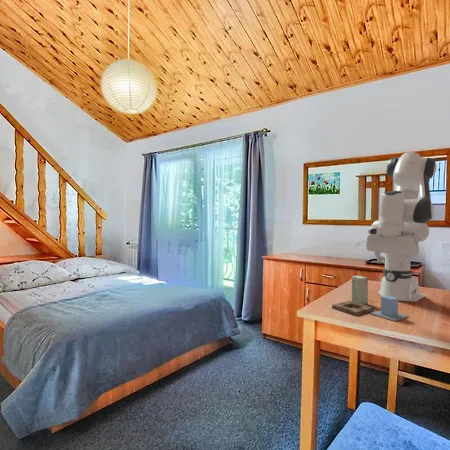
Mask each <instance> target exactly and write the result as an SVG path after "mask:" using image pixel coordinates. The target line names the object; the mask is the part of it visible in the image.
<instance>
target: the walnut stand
mask: <svg viewBox="0 0 450 450" xmlns="http://www.w3.org/2000/svg"><path fill="white" fill-rule="evenodd" d="M331 308H332V309H334V310H337V311H340V312H343V313H346V314H349V315H352V316H355V317H356V316H360V315H365V314H368V313H372V312H375V311H374V309H375V308H374V306H369V305H367V304H359V303H356V302H352V300H347V301H343V302H337V303H334V304H332V305H331Z"/></svg>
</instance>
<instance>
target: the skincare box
mask: <svg viewBox="0 0 450 450" xmlns="http://www.w3.org/2000/svg"><path fill="white" fill-rule="evenodd" d="M368 281H369V278H368V277H365V276H361V275H352V276H351V301H352V302H356V303H359V304H363V305H368V304H369V286H368V285H369V282H368Z"/></svg>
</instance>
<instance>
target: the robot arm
mask: <svg viewBox="0 0 450 450" xmlns="http://www.w3.org/2000/svg"><path fill="white" fill-rule="evenodd" d="M437 169H438V168H437V161H436V160H435V159H434V158H431V157H421V155H420V154H419V153H417V152H413V151H408V152H407V151H406V152H404V153H403V154H402V155H401V156H400V157H396V156H395V157H392V158H390V159H388V162H387V163H386V165H385V172H386V175H387V176H388V177H389V178H392V179H393V182H394V184H396V186H395V187H396V188H395V190H390V191H389V190H387V191H384V192H383V193H382V194H381V198H380V204H379V215H380V219H379V220H374V222H373V223H372V224H371V226H370V228H369V229H368V230H367V233H368V235H367V237H366V243H365V244H366V245H365V246H366V250H367V251H368V252H374V256H375V258H376V261H377V262H376V263H377V264H383V262H384V268H383V277H382V278H381V281H380V289H379V290H378V291H377V294H379V295H380V297H383V296H387V295H388V296H392V297H396V298H398V302H399V301H400V302H402V301H403V302H410V303H411V302H415V303H417V302H418V301H420V300H421V299H423V298H425V294H424V293H421V292H420V285H419V283H418V282H417V281H416V280H415V279H414V278H413V275H415V270H412V269H411V257H416V256H418V255H419V254H420V246H419V243H420V242H424V241H426V240H427V238H429V235H430V228H429V225H428V224H427V223H428V222H429V221H431V220H433V217H434V212H435V210H434V205H433V203H432V199H431V197H432V196H431V188H430V181H429V180H430V179H432V178H433V177H434V175H435V174H436V172H437ZM381 254H384V258H381Z"/></svg>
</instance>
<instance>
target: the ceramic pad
mask: <svg viewBox="0 0 450 450" xmlns="http://www.w3.org/2000/svg"><path fill="white" fill-rule="evenodd" d="M370 315H372V316H375V317H377V318H378V317H379V318H381V319H384V320H385V319H386V320H388V321H392V322H394V323H395V322H397V321H400V320H401V321H402V320H403V319H407V318H409V315H407V314H404V313H400V312H398V315H396V316H393V317H390V316H387V315H384V314H381V309H380V310H377V311H372V312H370Z"/></svg>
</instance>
